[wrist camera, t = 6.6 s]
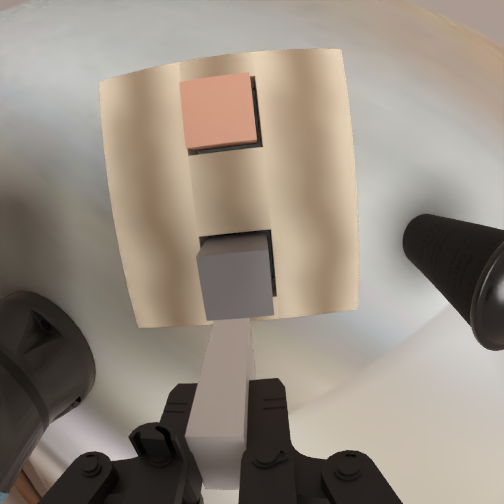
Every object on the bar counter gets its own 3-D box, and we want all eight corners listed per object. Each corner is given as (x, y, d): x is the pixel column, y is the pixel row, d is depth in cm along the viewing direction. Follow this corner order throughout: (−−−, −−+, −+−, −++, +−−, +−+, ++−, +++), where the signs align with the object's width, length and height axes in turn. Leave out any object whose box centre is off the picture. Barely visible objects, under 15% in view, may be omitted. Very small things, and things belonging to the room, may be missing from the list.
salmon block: (199, 150, 24) (185, 148, 19) (193, 96, 23) (179, 82, 18) (256, 143, 24) (256, 139, 19) (250, 88, 23) (249, 72, 18)
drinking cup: (375, 224, 27) (543, 337, 8) (440, 184, 26) (623, 237, 7) (405, 292, 29) (532, 433, 10) (463, 252, 28) (611, 347, 8)
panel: (151, 307, 29) (138, 327, 25) (118, 90, 24) (98, 81, 20) (345, 290, 29) (358, 309, 25) (329, 63, 23) (340, 49, 19)
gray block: (215, 291, 26) (206, 320, 21) (207, 237, 25) (195, 256, 20) (270, 286, 26) (274, 315, 21) (265, 231, 24) (268, 249, 20)
